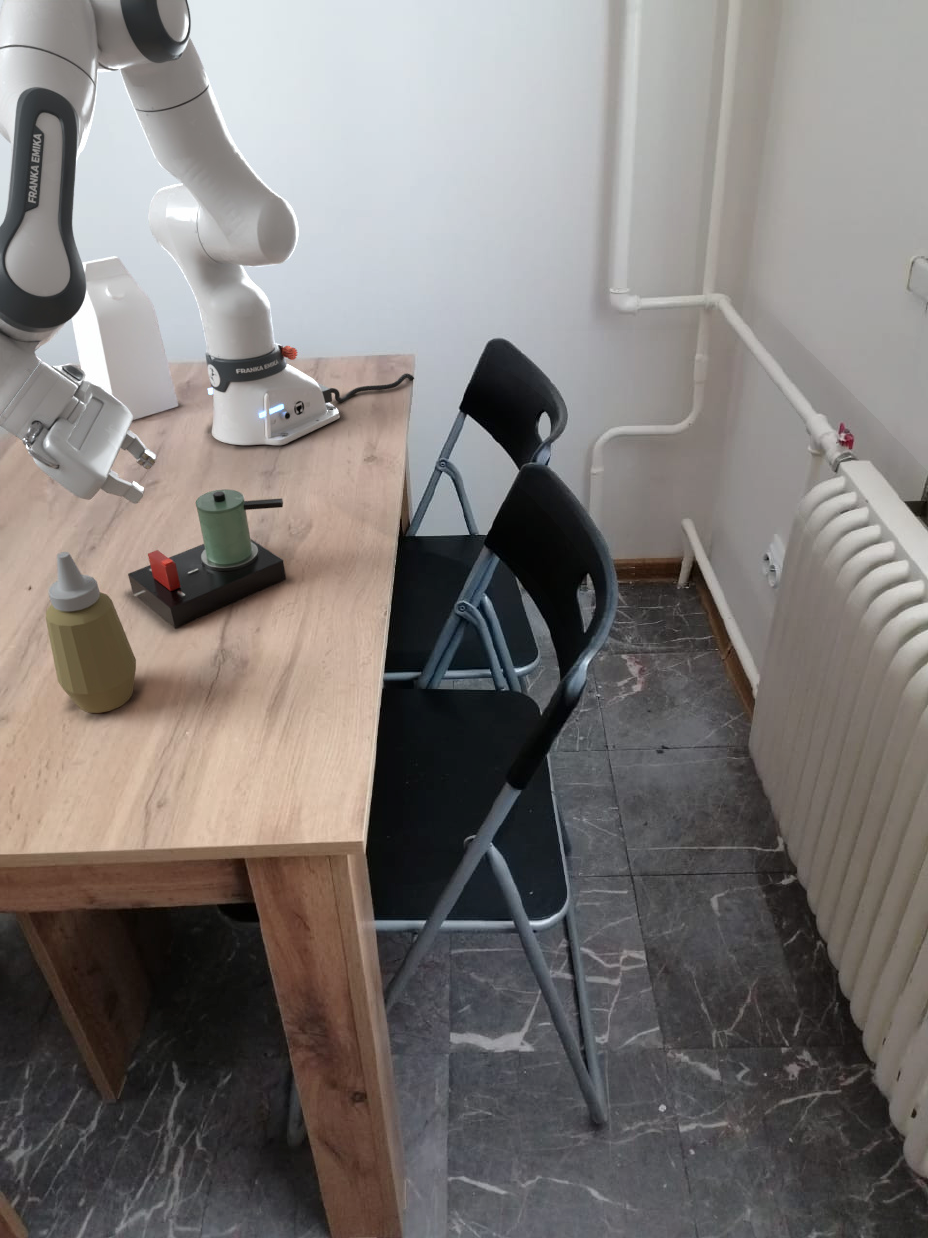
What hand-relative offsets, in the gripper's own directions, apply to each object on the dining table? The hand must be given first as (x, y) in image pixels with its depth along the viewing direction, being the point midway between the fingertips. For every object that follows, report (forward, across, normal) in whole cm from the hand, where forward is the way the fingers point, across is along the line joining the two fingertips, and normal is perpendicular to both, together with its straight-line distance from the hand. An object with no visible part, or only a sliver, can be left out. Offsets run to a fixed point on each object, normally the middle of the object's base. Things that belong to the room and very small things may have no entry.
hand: (147, 479), depth 114 cm
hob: (+14, -2, +7) cm, 16 cm away
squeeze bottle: (+8, -24, +13) cm, 28 cm away
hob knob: (+9, -5, +8) cm, 13 cm away
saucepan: (+15, 0, +1) cm, 15 cm away
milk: (0, +63, +21) cm, 67 cm away
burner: (+14, 0, +2) cm, 14 cm away
